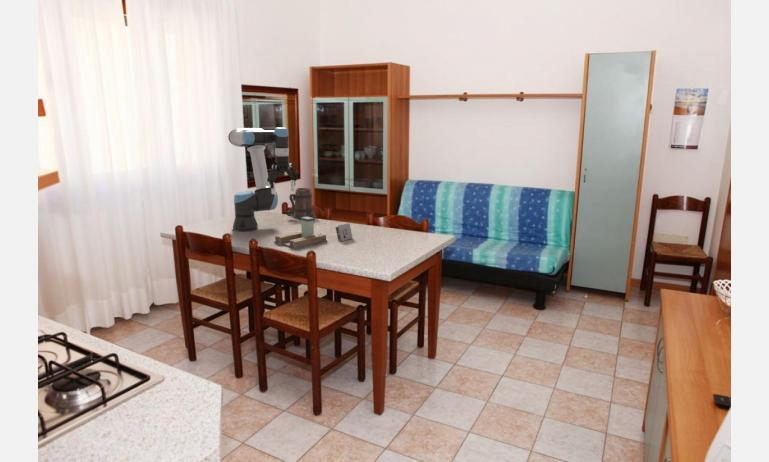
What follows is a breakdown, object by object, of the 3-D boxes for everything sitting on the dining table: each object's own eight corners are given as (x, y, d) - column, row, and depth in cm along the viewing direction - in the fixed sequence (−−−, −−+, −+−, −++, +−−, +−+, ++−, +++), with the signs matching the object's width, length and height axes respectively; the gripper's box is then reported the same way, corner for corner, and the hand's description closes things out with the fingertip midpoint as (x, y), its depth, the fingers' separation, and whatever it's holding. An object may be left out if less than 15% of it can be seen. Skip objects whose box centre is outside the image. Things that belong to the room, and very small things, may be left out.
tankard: (304, 213, 359) (303, 186, 354) (320, 216, 349) (320, 188, 345) (279, 218, 341) (278, 190, 336) (296, 222, 331) (295, 192, 326)
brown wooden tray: (274, 242, 279) (274, 235, 278) (304, 235, 295) (304, 229, 294) (296, 249, 266) (296, 241, 265) (327, 242, 282) (327, 234, 281)
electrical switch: (341, 241, 284) (340, 225, 282) (335, 240, 287) (334, 225, 285) (352, 238, 291) (351, 223, 289) (346, 238, 294) (345, 222, 292)
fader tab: (301, 238, 284) (301, 217, 281) (307, 237, 287) (306, 216, 284) (308, 240, 280) (308, 219, 277) (314, 238, 283) (313, 218, 280)
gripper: (267, 157, 267) (269, 195, 272) (303, 154, 285) (304, 191, 291) (259, 156, 272) (261, 194, 277) (295, 153, 290) (296, 189, 295)
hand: (283, 192), depth 284 cm, fingers open, 13 cm apart
